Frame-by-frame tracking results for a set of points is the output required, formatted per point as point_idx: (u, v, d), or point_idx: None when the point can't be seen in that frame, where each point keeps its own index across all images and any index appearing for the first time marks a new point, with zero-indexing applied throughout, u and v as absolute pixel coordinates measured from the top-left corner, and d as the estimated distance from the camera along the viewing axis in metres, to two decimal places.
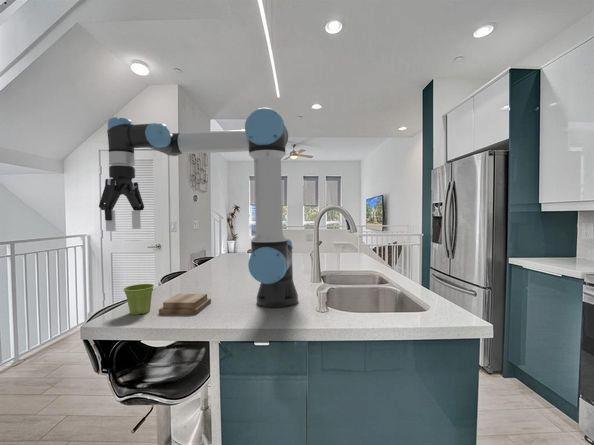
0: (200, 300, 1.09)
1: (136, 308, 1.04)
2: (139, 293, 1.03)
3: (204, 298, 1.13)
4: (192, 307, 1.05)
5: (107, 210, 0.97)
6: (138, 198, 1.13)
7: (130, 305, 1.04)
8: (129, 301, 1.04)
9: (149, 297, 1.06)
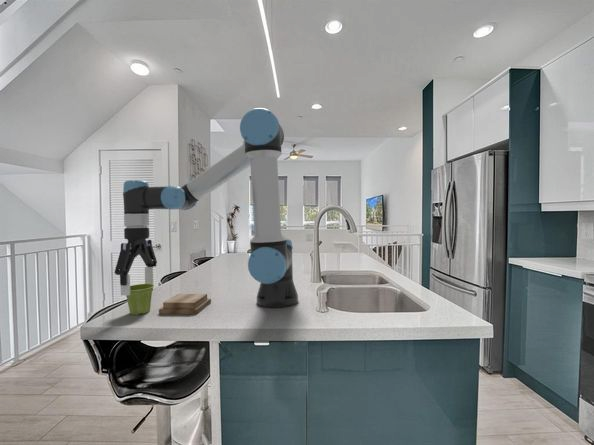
0: (200, 300, 1.09)
1: (136, 308, 1.04)
2: (139, 293, 1.03)
3: (204, 298, 1.13)
4: (192, 307, 1.05)
5: (122, 275, 0.98)
6: (151, 255, 1.14)
7: (130, 305, 1.04)
8: (129, 301, 1.04)
9: (149, 297, 1.06)
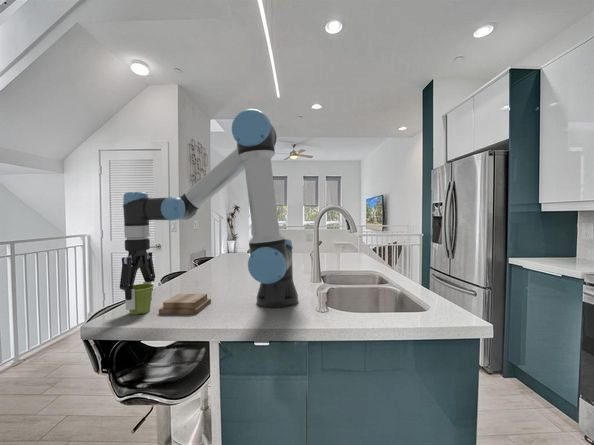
0: (200, 300, 1.09)
1: (136, 308, 1.04)
2: (139, 293, 1.03)
3: (204, 298, 1.13)
4: (192, 307, 1.05)
5: (127, 290, 1.00)
6: (150, 268, 1.13)
7: None
8: None
9: (149, 297, 1.06)
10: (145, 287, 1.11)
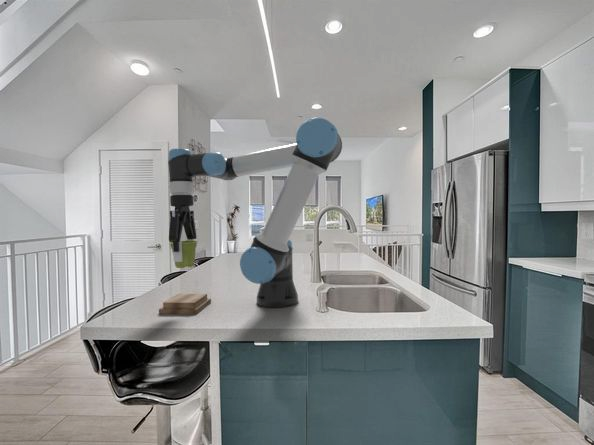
0: (200, 300, 1.09)
1: (182, 261, 1.07)
2: (185, 246, 1.06)
3: (204, 298, 1.13)
4: (192, 307, 1.05)
5: (175, 242, 1.03)
6: (192, 226, 1.16)
7: None
8: None
9: (194, 251, 1.09)
10: None
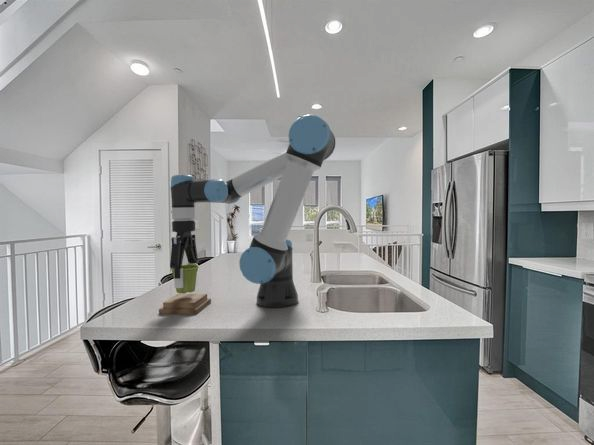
0: (200, 300, 1.09)
1: (183, 287, 1.07)
2: (186, 272, 1.07)
3: (204, 298, 1.13)
4: (192, 307, 1.05)
5: (177, 269, 1.04)
6: (194, 250, 1.16)
7: None
8: None
9: (195, 277, 1.10)
10: (189, 268, 1.14)
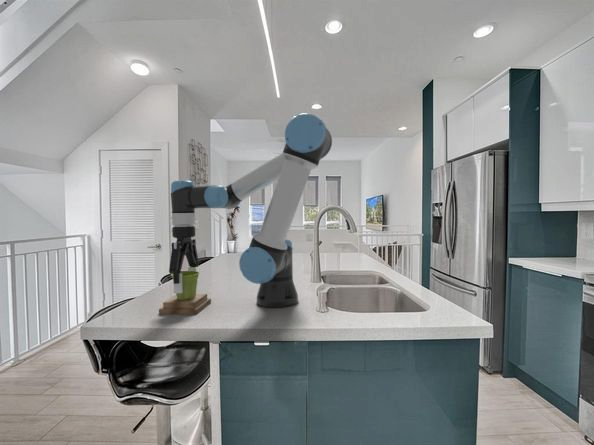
0: (200, 300, 1.09)
1: (184, 293, 1.07)
2: (187, 279, 1.07)
3: (204, 298, 1.13)
4: (192, 307, 1.05)
5: (176, 274, 1.03)
6: (194, 254, 1.17)
7: None
8: None
9: (195, 283, 1.10)
10: (190, 274, 1.14)
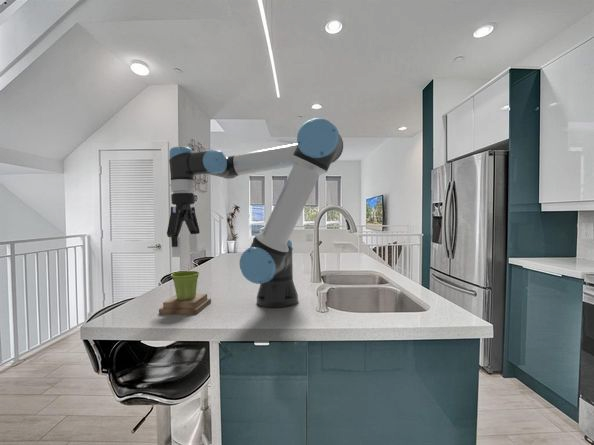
0: (200, 300, 1.09)
1: (184, 293, 1.07)
2: (187, 279, 1.07)
3: (204, 298, 1.13)
4: (192, 307, 1.05)
5: (174, 237, 1.01)
6: (195, 222, 1.17)
7: (178, 291, 1.07)
8: (177, 287, 1.07)
9: (195, 283, 1.10)
10: (190, 274, 1.14)
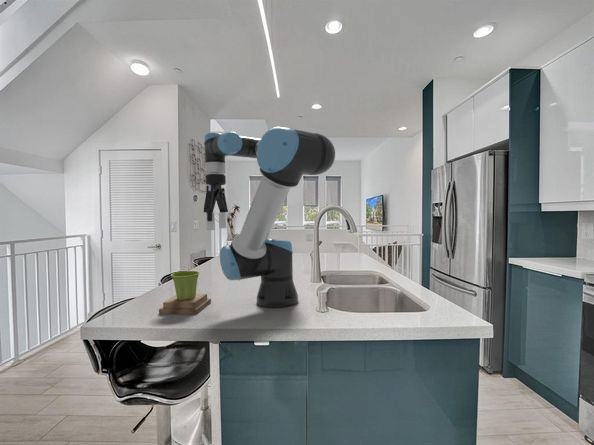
0: (200, 300, 1.09)
1: (184, 293, 1.07)
2: (187, 279, 1.07)
3: (204, 298, 1.13)
4: (192, 307, 1.05)
5: (209, 212, 1.15)
6: (224, 201, 1.30)
7: (178, 291, 1.07)
8: (177, 287, 1.07)
9: (195, 283, 1.10)
10: (190, 274, 1.14)
